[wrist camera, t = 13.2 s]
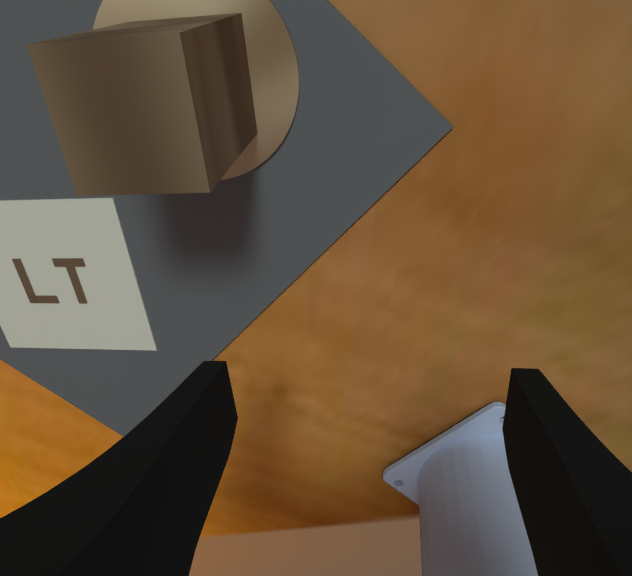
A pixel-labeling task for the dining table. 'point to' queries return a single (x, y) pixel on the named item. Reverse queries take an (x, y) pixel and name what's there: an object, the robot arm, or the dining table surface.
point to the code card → (69, 277)
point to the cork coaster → (262, 52)
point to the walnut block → (149, 103)
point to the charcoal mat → (214, 201)
